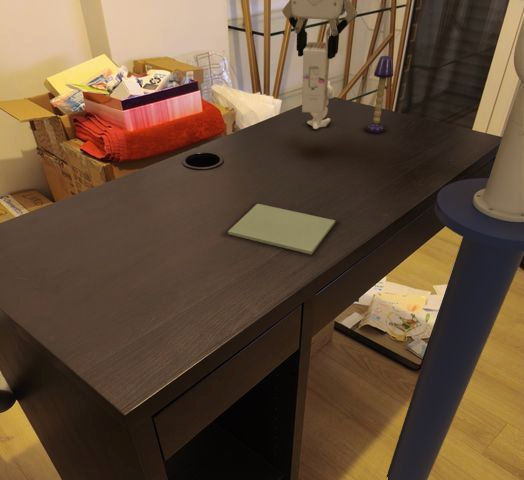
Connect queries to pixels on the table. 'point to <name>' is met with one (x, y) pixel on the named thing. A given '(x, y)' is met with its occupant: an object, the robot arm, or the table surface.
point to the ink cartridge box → (315, 75)
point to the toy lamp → (380, 90)
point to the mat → (283, 228)
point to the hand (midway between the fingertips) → (316, 55)
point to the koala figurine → (318, 117)
